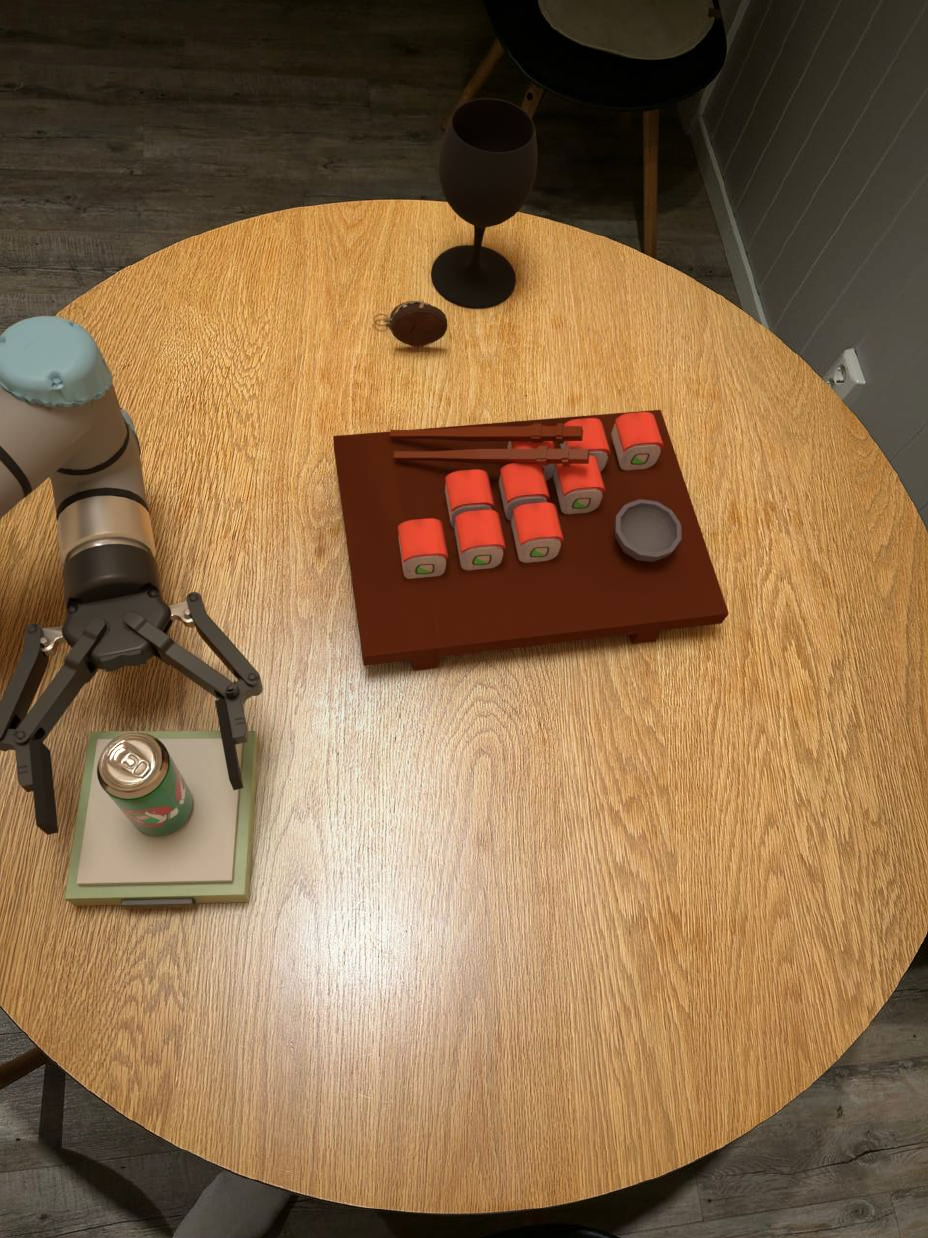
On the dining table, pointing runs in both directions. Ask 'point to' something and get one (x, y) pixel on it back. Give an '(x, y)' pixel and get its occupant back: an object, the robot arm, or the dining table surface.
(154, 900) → the scale
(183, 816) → the soda can
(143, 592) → the robot arm
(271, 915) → the dining table surface
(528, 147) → the wine glass
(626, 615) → the sushi
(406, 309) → the compass
